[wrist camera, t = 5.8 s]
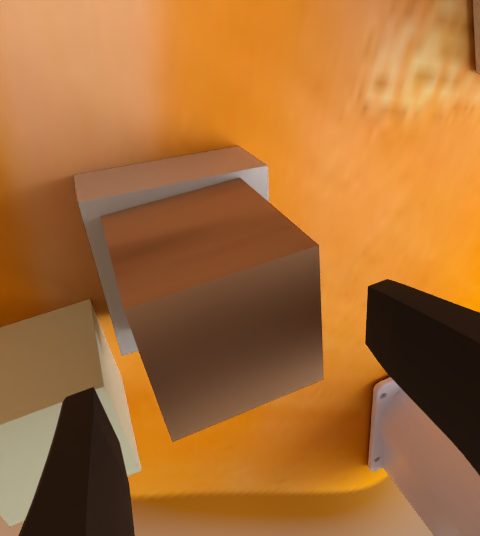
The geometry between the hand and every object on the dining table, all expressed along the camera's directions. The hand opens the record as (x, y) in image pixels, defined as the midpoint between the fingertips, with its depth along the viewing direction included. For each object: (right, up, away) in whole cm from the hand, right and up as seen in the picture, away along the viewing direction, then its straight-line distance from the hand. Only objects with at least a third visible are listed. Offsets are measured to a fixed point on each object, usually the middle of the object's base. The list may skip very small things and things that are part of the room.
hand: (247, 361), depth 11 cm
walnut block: (-2, +3, +4) cm, 5 cm away
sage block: (-8, -1, +7) cm, 11 cm away
